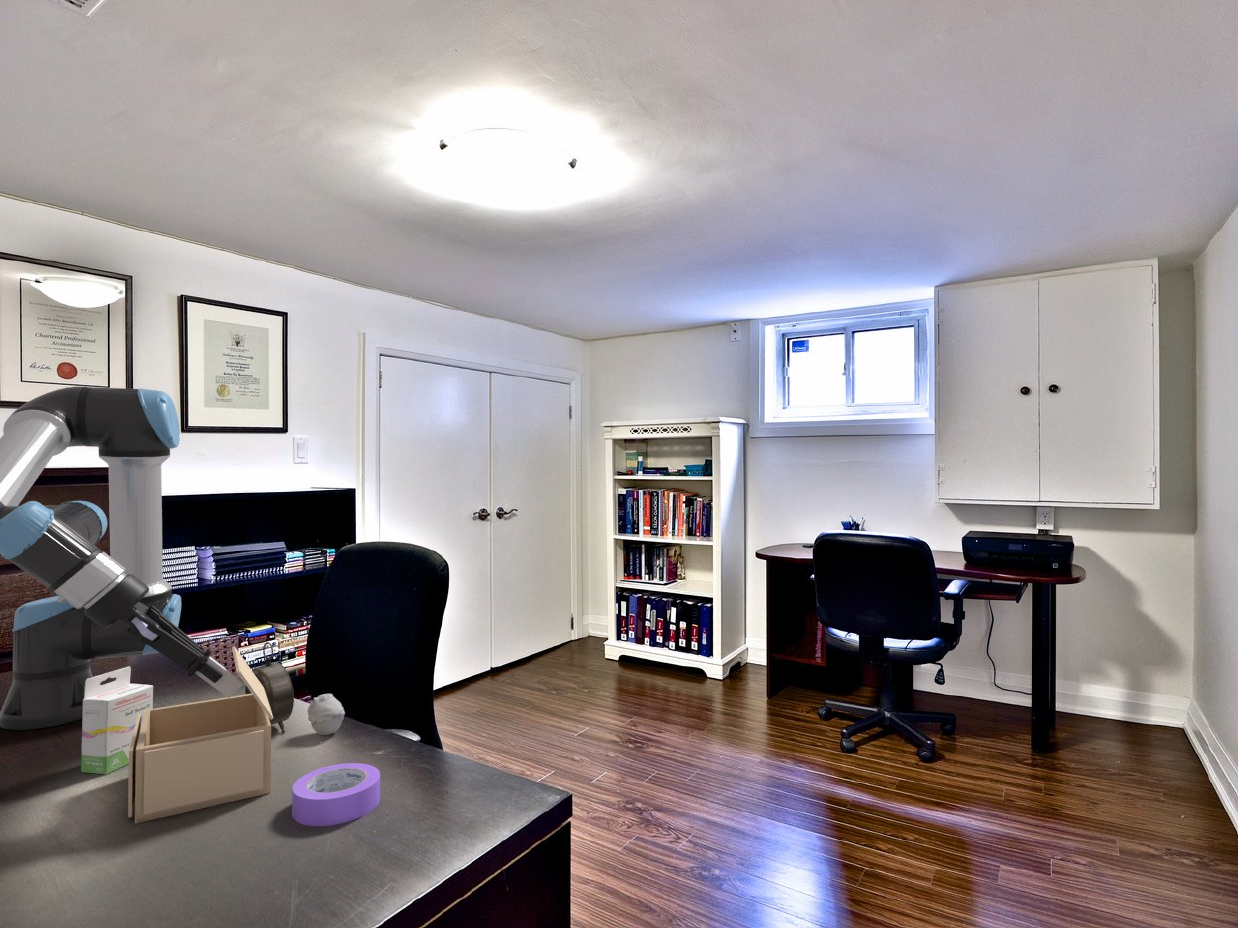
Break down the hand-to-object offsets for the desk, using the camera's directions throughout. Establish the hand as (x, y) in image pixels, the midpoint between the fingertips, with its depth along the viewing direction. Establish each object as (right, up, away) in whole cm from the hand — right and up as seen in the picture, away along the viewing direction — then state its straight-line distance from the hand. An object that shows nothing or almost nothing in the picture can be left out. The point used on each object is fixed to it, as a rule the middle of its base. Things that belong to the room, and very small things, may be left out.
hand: (235, 689), depth 104 cm
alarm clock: (-6, -14, +20) cm, 25 cm away
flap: (+3, -4, +3) cm, 6 cm away
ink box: (-23, -14, +5) cm, 27 cm away
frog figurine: (+6, -14, +18) cm, 24 cm away
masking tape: (+19, -14, -8) cm, 25 cm away
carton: (-4, -14, -2) cm, 14 cm away
